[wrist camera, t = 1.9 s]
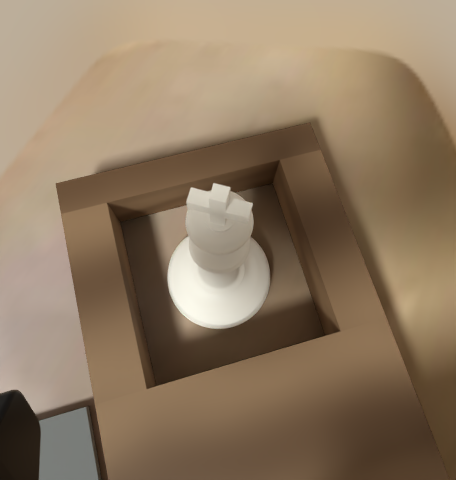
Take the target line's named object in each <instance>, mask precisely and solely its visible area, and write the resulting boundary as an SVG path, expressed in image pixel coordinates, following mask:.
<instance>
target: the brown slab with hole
mask: <svg viewBox="0 0 456 480" xmlns="http://www.w3.org/2000/svg"><path fill="white" fill-rule="evenodd" d="M213 183H216V184H220V185H224V186H227V187H231V188H230V191H232V192H234V193H236V192H240V191H244V190H247V189H251V188H255V187H259V186H263V185H267V184H271V183H273V185H274V188H275V191H276V194H277V197H278V200H279V203H280V206H281V208H282V211H283V214H284V217H285V220H286V223H287V226H288V229H289V232H290V235H291V237H292V240H293V243H294V246H295V249H296V252H297V255H298V258H299V261H300V264H301V266H302V269H303V272H304V275H305V278H306V281H307V284H308V287H309V290H310V293H311V296H312V298H313V301H314V304H315V307H316V310H317V313H318V316H319V319H320V322H321V325H322V327H323V330H324V333H325V336H322V337H318V338H315V339H312V340H308V341H305V342H302V343H298V344H295V345H292V346H288V347H285V348H282V349H278V350H275V351H271V352H268V353H265V354H261V355H258V356H255V357H251V358H248V359H245V360H241V361H238V362H235V363H231V364H228V365H224V366H221V367H218V368H214V369H211V370H208V371H204V372H201V373H198V374H194V375H191V376H188V377H184V378H181V379H177V380H174V381H171V382H167V383H164V384H161V385H157V386H156V383H155V378H154V374H153V369H152V365H151V360H150V355H149V351H148V346H147V342H146V337H145V333H144V328H143V324H142V319H141V315H140V310H139V306H138V301H137V296H136V292H135V287H134V283H133V278H132V274H131V269H130V265H129V260H128V256H127V251H126V247H125V242H124V237H123V233H122V228H121V224H120V222H121V221H125V220H129V219H133V218H137V217H141V216H145V215H149V214H153V213H157V212H161V211H165V210H169V209H173V208H176V207H180V206H184V205H187V204H186V201H187V198H188V195H189V191H190V188H191V187H192V188H196V189H200V190H203V191H211V190H212V186H213ZM56 188H57V194H58V199H59V205H60V210H61V216H62V222H63V227H64V233H65V239H66V244H67V250H68V256H69V261H70V267H71V272H72V278H73V284H74V289H75V295H76V301H77V306H78V312H79V318H80V323H81V329H82V334H83V340H84V346H85V351H86V357H87V363H88V368H89V374H90V380H91V385H92V391H93V396H94V402H95V408H96V413H97V419H98V425H99V430H100V436H101V442H102V447H103V453H104V459H105V464H106V470H107V475H108V480H450V479H449V476H448V474H447V471H446V469H445V466H444V463H443V461H442V458H441V456H440V453H439V451H438V448H437V446H436V443H435V440H434V438H433V435H432V433H431V430H430V428H429V425H428V423H427V420H426V417H425V415H424V412H423V410H422V407H421V405H420V402H419V400H418V397H417V394H416V392H415V389H414V387H413V384H412V382H411V379H410V377H409V374H408V371H407V369H406V366H405V364H404V361H403V359H402V356H401V354H400V351H399V348H398V346H397V343H396V341H395V338H394V336H393V333H392V331H391V328H390V325H389V323H388V320H387V318H386V315H385V313H384V310H383V308H382V305H381V303H380V300H379V297H378V295H377V292H376V290H375V287H374V285H373V282H372V280H371V277H370V274H369V272H368V269H367V267H366V264H365V262H364V259H363V257H362V254H361V251H360V249H359V246H358V244H357V241H356V239H355V236H354V234H353V231H352V228H351V226H350V223H349V221H348V218H347V216H346V213H345V211H344V208H343V205H342V203H341V200H340V198H339V195H338V193H337V190H336V188H335V185H334V182H333V180H332V177H331V175H330V172H329V170H328V167H327V165H326V162H325V159H324V157H323V154H322V152H321V149H320V147H319V144H318V142H317V139H316V136H315V134H314V131H313V129H312V126H311V124H310V123H306V124H302V125H297V126H293V127H289V128H285V129H281V130H277V131H272V132H268V133H264V134H260V135H256V136H252V137H247V138H243V139H239V140H235V141H231V142H227V143H222V144H218V145H214V146H210V147H206V148H202V149H197V150H193V151H189V152H185V153H181V154H177V155H172V156H168V157H164V158H160V159H156V160H152V161H147V162H143V163H139V164H135V165H131V166H127V167H122V168H118V169H114V170H110V171H106V172H102V173H97V174H93V175H89V176H85V177H81V178H77V179H72V180H68V181H64V182H60V183H56Z"/></svg>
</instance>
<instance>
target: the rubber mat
mask: <svg viewBox="0 0 456 480" xmlns="http://www.w3.org/2000/svg"><path fill="white" fill-rule="evenodd" d="M39 423H40V428H41V444H40V466H39V480H102V479H101V474H100V468H99V462H98V456H97V450H96V445H95V439H94V433H93V427H92V422H91V416H90V410H89V406H87V407H83V408H80V409H77V410H73V411H70V412H67V413H63V414H60V415H57V416H53V417H50V418H47V419H43V420H40V421H39Z"/></svg>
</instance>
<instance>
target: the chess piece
mask: <svg viewBox="0 0 456 480" xmlns="http://www.w3.org/2000/svg"><path fill="white" fill-rule="evenodd" d="M230 188H231V187H227V186H224V185H220V184H216V183H213V186H212V190H211V191H203V190H200V189H196V188H192V187H191V188H190V191H189V195H188V198H187V201H186V204H187V208H188V211H187V214H186V219H185V224H186V230H187V233H188V236H187V237H186V238H185V239H184V240H182V242H181V243H180V244H179V245H178V246H177V248H176V249H175V251H174V253H173V255H172V257H171V259H170V263H169V267H168V275H167V282H168V289H169V293H170V296H171V298H172V300H173V302H174V304H175V306H176V307H177V308H178V310H179V311H180V312H181V313H182V314H183V315H184V316H185V317H186V318H188V319H189V320H190V321H192V322H194V323H196V324H198V325H200V326H203V327H207V328H213V329H225V328H231V327H234V326H237V325H240V324H242V323H244V322H245V321H247V320H249V319H250V318H251V317H252V316H254V315H255V314H256V313H257V312H258V310H259V309H260V308H261V306H262V305H263V303H264V301H265V299H266V297H267V295H268V291H269V287H270V268H269V264H268V260H267V257H266V255H265V253H264V251H263V249H262V248H261V247H260V245H259V244H258V243H257V242H256V241H255V240H254V239H253V238H252V237H251V233H252V230H253V225H254V219H253V214H252V211H251V210H252V206H253V203H250V202H246V201H245V200H244V199H243V198H242V197H241V196H239V195H238V194H236V193H234V192H232V191H230Z"/></svg>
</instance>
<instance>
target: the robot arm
mask: <svg viewBox="0 0 456 480" xmlns="http://www.w3.org/2000/svg"><path fill="white" fill-rule="evenodd" d="M40 444H41V428H40V423H39V420H38V418H37V417H36V415H35V413H34V412H33V410H32V409H31V407H30V405H29V404H28V402H27V401H26V399H25V397H24V396H23V394H22V393H21V392H20V391H18V390H11V391H7V392H4V393H0V480H39V466H40Z"/></svg>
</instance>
